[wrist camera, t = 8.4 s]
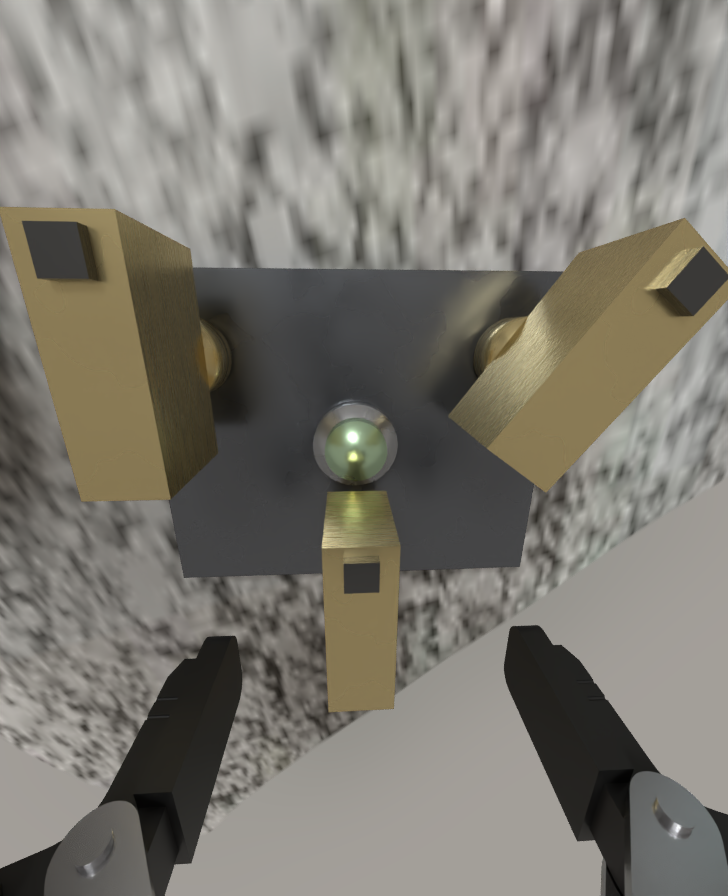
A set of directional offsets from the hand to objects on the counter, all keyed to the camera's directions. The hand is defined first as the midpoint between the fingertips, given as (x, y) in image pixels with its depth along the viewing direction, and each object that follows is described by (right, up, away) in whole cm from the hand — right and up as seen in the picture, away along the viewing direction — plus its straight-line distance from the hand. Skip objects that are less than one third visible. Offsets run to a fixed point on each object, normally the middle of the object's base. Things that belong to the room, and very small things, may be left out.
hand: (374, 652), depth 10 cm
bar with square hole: (-1, +2, +6) cm, 6 cm away
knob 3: (+5, +10, +4) cm, 12 cm away
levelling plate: (-1, +7, +6) cm, 9 cm away
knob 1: (-7, +10, +3) cm, 12 cm away
